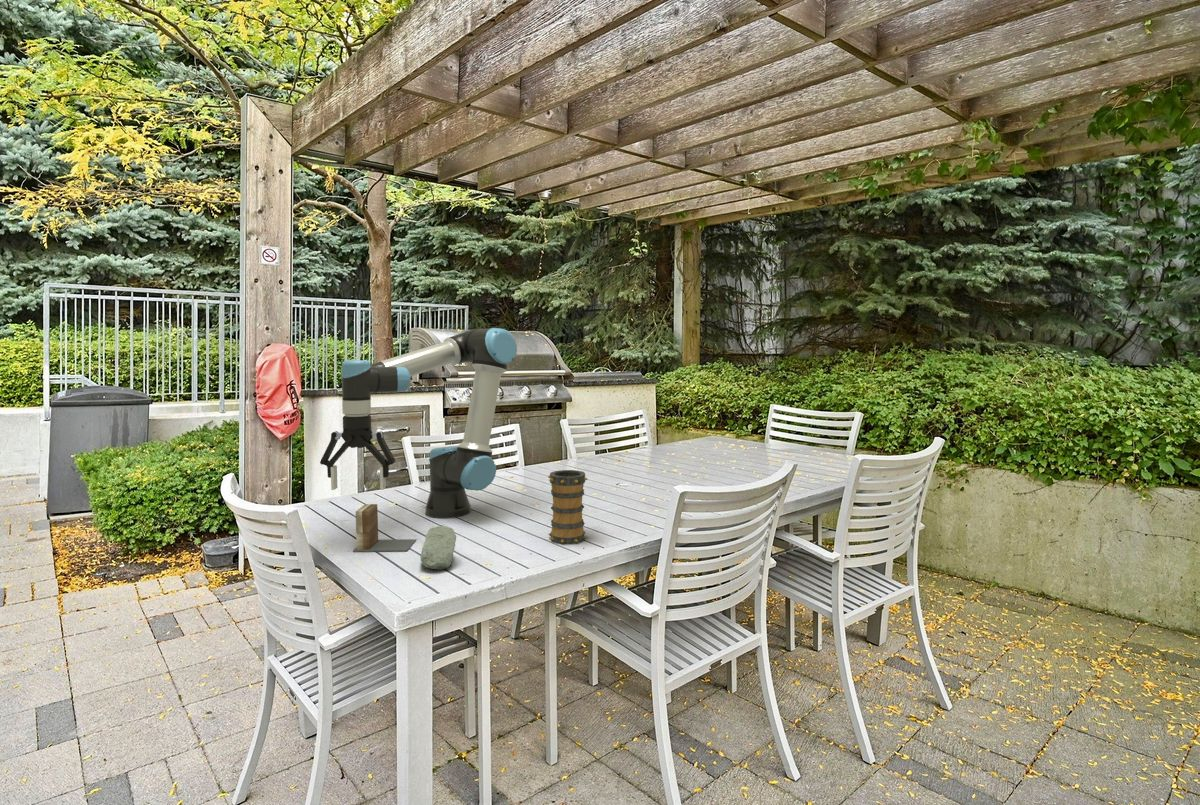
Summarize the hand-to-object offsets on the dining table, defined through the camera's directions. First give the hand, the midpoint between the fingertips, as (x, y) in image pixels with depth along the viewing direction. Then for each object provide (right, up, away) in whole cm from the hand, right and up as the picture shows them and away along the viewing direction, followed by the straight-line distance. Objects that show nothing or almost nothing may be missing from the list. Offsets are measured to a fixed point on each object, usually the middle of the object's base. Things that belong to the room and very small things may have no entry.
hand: (358, 488), depth 178 cm
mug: (+60, -16, +12) cm, 63 cm away
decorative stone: (+26, -19, -13) cm, 34 cm away
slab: (+2, -16, +2) cm, 17 cm away
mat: (+7, -17, +2) cm, 18 cm away
